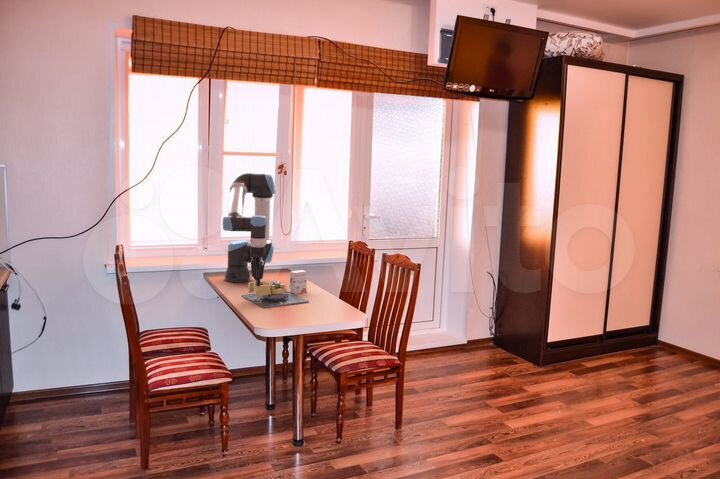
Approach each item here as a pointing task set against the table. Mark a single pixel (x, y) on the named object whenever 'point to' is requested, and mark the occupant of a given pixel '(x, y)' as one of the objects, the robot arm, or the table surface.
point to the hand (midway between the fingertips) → (256, 291)
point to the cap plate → (274, 303)
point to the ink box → (298, 281)
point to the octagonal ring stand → (266, 289)
